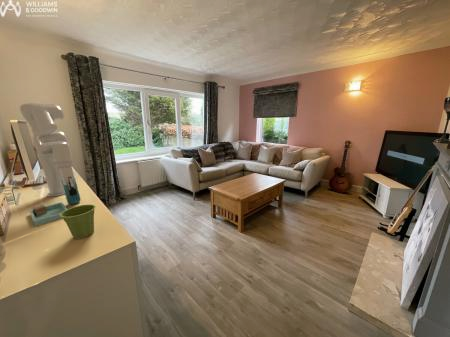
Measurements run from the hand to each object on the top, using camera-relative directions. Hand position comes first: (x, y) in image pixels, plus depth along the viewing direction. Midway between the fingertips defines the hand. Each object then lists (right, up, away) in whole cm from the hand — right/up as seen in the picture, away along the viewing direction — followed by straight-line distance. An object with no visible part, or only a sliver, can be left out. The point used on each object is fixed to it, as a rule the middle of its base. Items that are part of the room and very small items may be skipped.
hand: (72, 193), depth 111 cm
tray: (-1, -10, -12) cm, 16 cm away
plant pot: (+30, -14, -30) cm, 45 cm away
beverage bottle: (0, -7, +2) cm, 7 cm away
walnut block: (-8, -9, -11) cm, 16 cm away
